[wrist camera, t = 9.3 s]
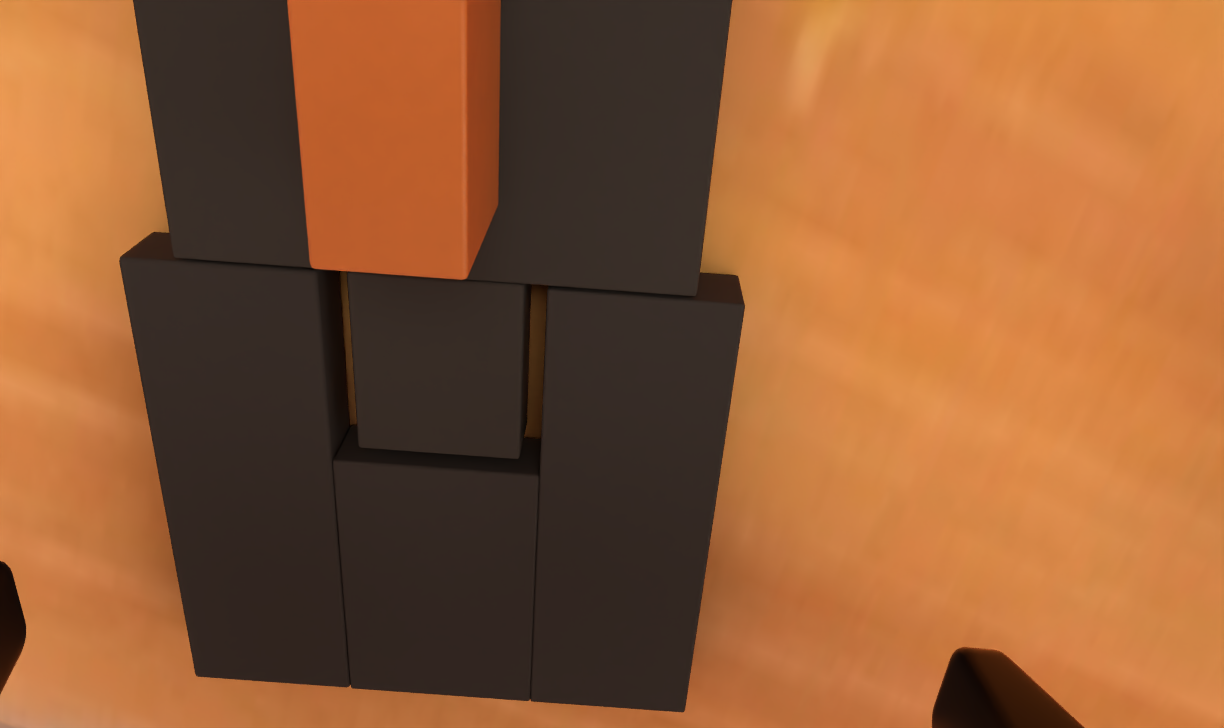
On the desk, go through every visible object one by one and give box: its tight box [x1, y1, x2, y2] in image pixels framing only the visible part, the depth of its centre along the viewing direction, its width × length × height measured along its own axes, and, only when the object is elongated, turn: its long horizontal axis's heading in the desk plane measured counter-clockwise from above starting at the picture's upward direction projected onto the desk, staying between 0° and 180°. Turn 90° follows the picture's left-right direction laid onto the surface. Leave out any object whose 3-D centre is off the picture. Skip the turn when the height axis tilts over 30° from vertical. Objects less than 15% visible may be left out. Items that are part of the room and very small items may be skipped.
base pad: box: [119, 232, 745, 712], centre depth 21 cm, size 12×11×2 cm
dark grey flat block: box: [133, 0, 732, 459], centre depth 16 cm, size 10×13×5 cm
